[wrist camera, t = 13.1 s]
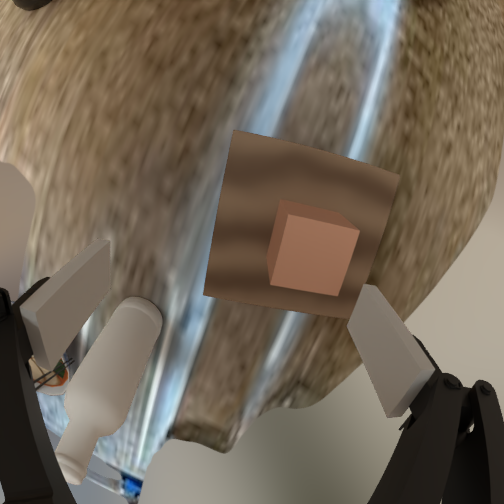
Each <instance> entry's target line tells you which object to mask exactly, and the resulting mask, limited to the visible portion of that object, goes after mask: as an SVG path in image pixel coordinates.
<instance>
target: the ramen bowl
mask: <svg viewBox="0 0 504 504" xmlns="http://www.w3.org/2000/svg"><path fill="white" fill-rule="evenodd" d="M13 303H14V301H11V305H12V304H13ZM71 359H72V358H71ZM71 359H68V355H67V353H66V351H65V353H64V354H63V356H62V357H61V359H60V360H59V362H58V363H57V365H56V366H55V368H54V369H53V371H49V370H47V369H44V368H42V367H40V366H37V364H36V361H35V358H34V355H32V357H31V358H30V359H29V363H30V366H31V371H32V376H33V380H34V385H35V389H36V391H38V392H41V393H44V394H47V395H50V396H54V395H63V394H64V393H65V392H66V388H67V385H68V384H69V382H70V364H72V363H73V362H74V361H72V362H71V363H70V364H69V361H70V360H71Z"/></svg>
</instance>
